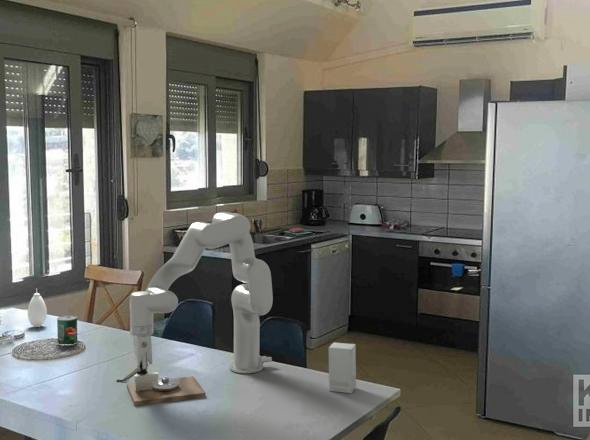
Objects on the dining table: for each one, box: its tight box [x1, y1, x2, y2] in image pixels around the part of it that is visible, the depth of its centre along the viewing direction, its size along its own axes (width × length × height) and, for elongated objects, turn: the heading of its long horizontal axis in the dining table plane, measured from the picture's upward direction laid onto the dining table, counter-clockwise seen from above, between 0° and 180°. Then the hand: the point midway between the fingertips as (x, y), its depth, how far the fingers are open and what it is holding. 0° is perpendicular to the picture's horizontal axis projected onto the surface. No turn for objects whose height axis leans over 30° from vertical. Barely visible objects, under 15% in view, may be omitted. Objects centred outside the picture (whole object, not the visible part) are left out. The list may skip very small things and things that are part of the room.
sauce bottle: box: [27, 287, 48, 328], centre depth 307 cm, size 8×8×18 cm
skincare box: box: [328, 342, 357, 394], centre depth 233 cm, size 8×7×16 cm
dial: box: [134, 371, 179, 391], centre depth 228 cm, size 14×9×5 cm, turn 114°
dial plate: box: [126, 375, 206, 407], centre depth 229 cm, size 23×17×2 cm
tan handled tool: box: [115, 368, 138, 384], centre depth 248 cm, size 21×7×1 cm, turn 166°
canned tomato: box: [56, 314, 79, 344], centre depth 282 cm, size 8×8×11 cm
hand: (142, 382), depth 229 cm, fingers closed
